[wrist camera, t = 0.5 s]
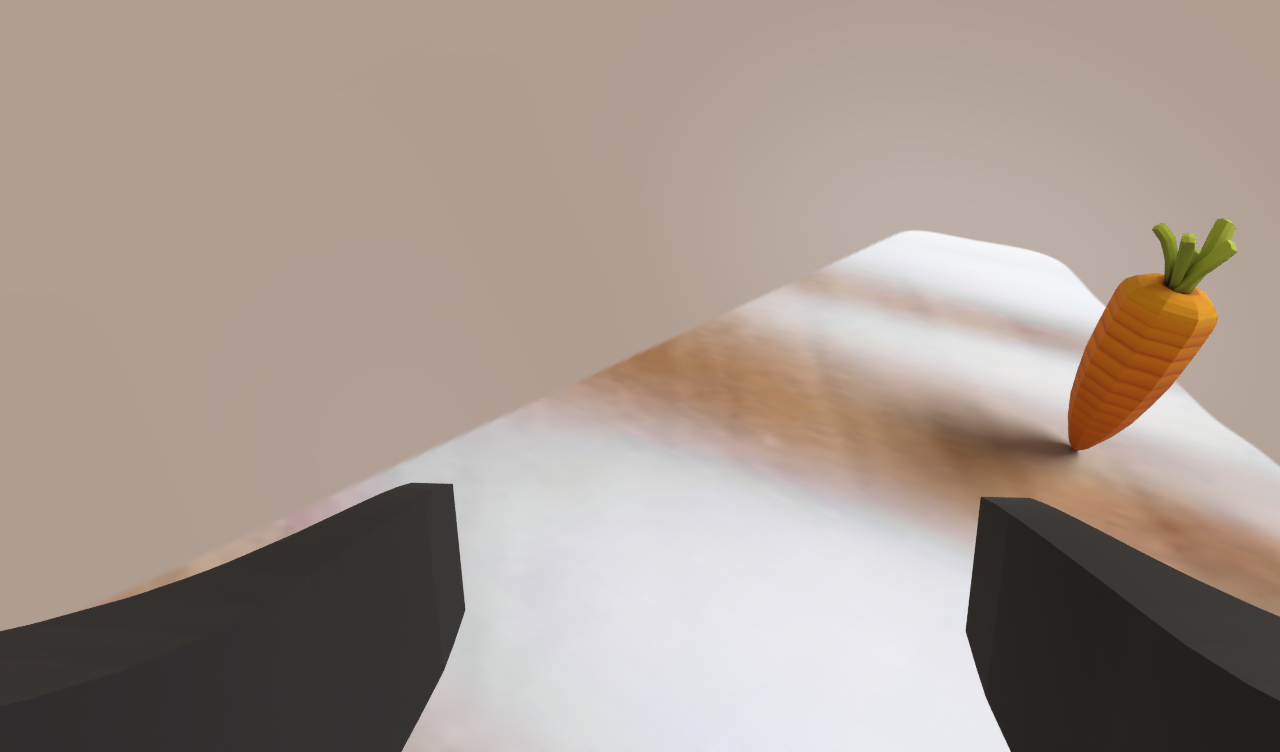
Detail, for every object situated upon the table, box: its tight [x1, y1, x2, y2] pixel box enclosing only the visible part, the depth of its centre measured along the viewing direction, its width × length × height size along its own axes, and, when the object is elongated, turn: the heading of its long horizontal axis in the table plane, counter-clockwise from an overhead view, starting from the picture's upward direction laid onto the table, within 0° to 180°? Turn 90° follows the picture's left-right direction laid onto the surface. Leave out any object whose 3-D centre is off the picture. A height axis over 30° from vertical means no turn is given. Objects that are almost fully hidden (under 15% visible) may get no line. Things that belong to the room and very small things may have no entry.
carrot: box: [1068, 219, 1237, 451], centre depth 44 cm, size 5×5×15 cm
